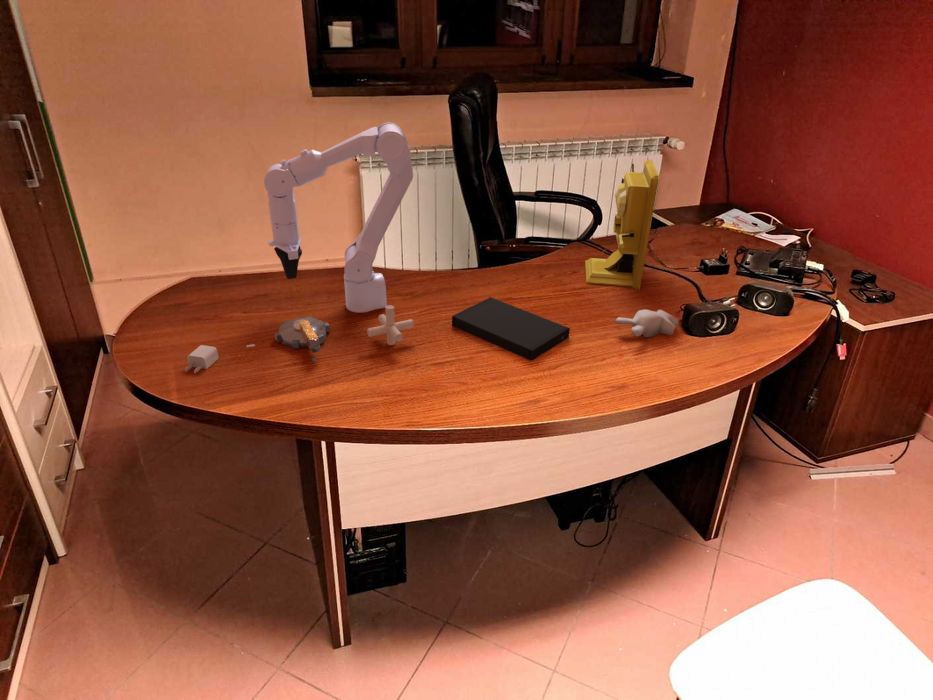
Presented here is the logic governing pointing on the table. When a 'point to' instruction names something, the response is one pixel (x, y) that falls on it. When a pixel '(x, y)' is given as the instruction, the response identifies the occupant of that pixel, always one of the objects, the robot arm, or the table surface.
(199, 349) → the usb wall charger
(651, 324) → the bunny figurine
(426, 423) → the table surface
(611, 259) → the vintage telephone
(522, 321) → the external hard drive
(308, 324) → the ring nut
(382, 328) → the pipe connector
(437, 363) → the table surface
